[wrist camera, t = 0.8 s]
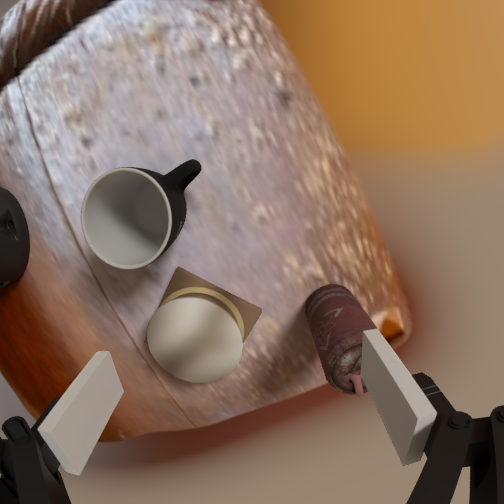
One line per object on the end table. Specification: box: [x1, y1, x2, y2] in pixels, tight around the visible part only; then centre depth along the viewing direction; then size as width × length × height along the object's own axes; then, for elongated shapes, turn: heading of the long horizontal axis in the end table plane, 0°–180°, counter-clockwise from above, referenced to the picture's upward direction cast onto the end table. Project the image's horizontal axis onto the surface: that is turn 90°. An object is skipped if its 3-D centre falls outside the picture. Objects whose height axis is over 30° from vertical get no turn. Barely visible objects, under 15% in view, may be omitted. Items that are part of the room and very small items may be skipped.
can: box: [306, 284, 380, 396], centre depth 31 cm, size 6×6×14 cm
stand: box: [144, 267, 262, 383], centre depth 36 cm, size 11×11×5 cm
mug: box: [81, 159, 202, 270], centre depth 30 cm, size 12×9×10 cm
